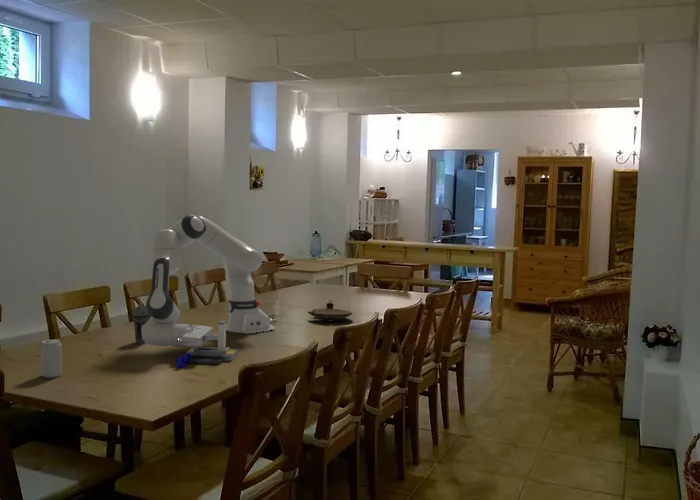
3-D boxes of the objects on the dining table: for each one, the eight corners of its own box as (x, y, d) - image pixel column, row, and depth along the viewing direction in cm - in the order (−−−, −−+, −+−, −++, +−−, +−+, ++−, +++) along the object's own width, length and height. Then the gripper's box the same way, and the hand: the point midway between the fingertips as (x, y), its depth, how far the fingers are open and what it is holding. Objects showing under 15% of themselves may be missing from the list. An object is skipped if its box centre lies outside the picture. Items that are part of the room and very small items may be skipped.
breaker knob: (217, 352, 251) (218, 322, 250) (219, 350, 254) (219, 320, 253) (223, 352, 251) (224, 322, 250) (225, 350, 254) (226, 321, 253)
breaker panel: (183, 359, 248) (183, 350, 247) (192, 352, 260) (192, 343, 259) (230, 361, 247) (230, 352, 247) (237, 354, 259) (237, 345, 259)
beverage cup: (154, 341, 276) (154, 294, 275) (143, 344, 270) (143, 297, 268) (139, 339, 279) (139, 293, 277) (128, 343, 272) (128, 295, 270)
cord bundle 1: (201, 351, 262) (201, 347, 262) (203, 349, 265) (203, 345, 265) (230, 352, 262) (230, 348, 261) (232, 350, 265) (232, 347, 264)
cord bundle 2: (188, 363, 242) (188, 360, 242) (190, 361, 245) (190, 358, 245) (219, 365, 242) (220, 361, 241) (221, 363, 245) (221, 359, 244)
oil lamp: (300, 322, 326) (300, 307, 326) (322, 313, 355) (322, 299, 354) (342, 326, 319) (343, 311, 319) (361, 316, 348) (361, 302, 347)
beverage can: (45, 373, 225) (44, 339, 224) (64, 373, 225) (64, 339, 224) (38, 378, 218) (37, 343, 217) (57, 378, 219) (57, 343, 218)
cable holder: (180, 362, 244) (180, 352, 244) (189, 363, 244) (189, 352, 244) (172, 368, 236) (172, 357, 236) (182, 368, 236) (182, 358, 236)
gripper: (175, 333, 242) (211, 334, 242) (190, 322, 263) (224, 323, 262) (174, 349, 243) (211, 351, 242) (190, 337, 263) (224, 339, 263)
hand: (218, 337), depth 253 cm, fingers closed, pressing on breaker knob
